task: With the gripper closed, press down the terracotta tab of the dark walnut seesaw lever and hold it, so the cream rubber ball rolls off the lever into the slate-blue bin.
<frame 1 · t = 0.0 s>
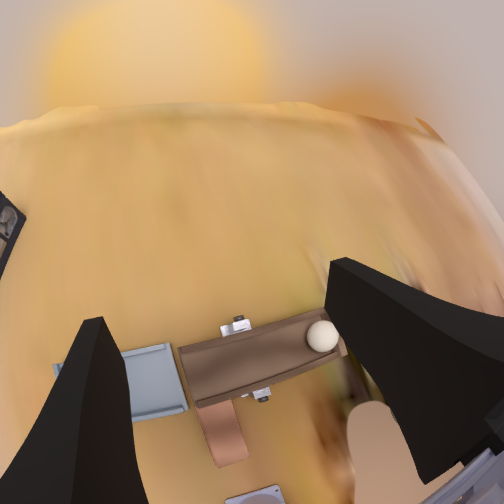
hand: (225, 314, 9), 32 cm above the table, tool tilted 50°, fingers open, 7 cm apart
bin: (123, 386, 35), on the table
ball: (322, 336, 37), point 6 cm above the table, tilted 9°, touching lever
lever stand: (244, 358, 40), on the table
lever: (278, 385, 34), point 6 cm above the table, hinge at 12.0°, touching ball
vhs cassette tape: (1, 266, 36), on the table
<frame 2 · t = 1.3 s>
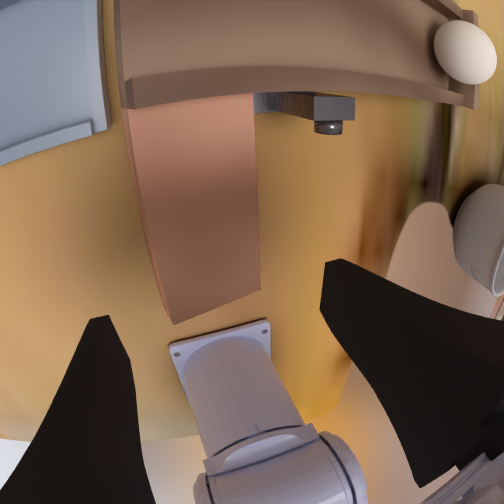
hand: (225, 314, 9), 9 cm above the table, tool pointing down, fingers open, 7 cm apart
teacup: (472, 216, 28), on the table
ball: (465, 52, 11), point 6 cm above the table, tilted 9°, touching lever
lever stand: (276, 26, 13), on the table
lever: (376, 103, 11), point 6 cm above the table, hinge at 12.0°, touching ball
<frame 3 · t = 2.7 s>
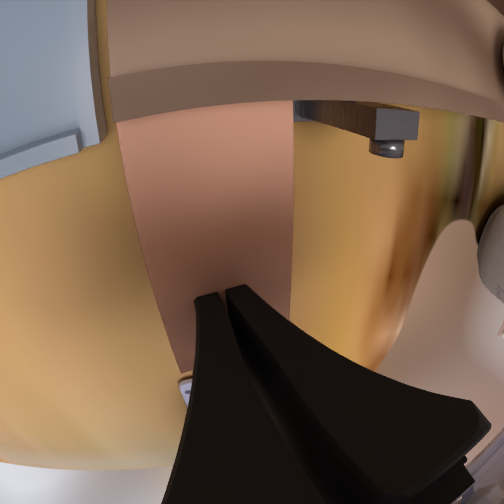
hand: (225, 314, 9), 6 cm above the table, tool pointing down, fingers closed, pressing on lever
teacup: (495, 231, 26), on the table
lever stand: (311, 18, 10), on the table
lever: (444, 121, 8), point 6 cm above the table, hinge at 3.6°, touching ball, gripper
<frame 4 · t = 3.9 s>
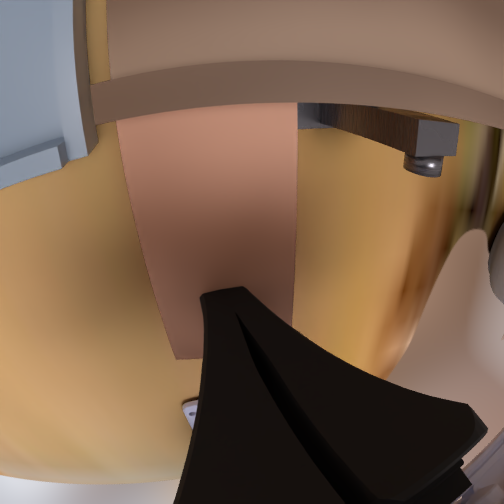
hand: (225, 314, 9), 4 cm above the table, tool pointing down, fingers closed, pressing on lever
lever stand: (330, 11, 9), on the table
lever: (493, 141, 6), point 6 cm above the table, hinge at -14.0°, touching gripper
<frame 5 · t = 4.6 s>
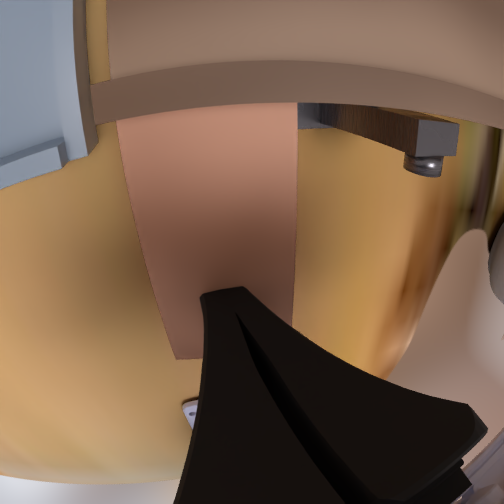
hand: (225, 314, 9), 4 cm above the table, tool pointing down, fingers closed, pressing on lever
lever stand: (330, 11, 9), on the table
lever: (493, 141, 6), point 6 cm above the table, hinge at -14.0°, touching gripper
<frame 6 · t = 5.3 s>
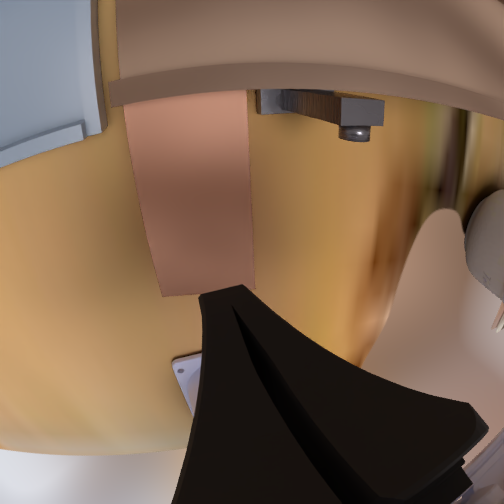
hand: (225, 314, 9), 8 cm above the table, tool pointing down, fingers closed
teacup: (483, 222, 27), on the table
lever stand: (291, 19, 12), on the table
lever: (414, 111, 9), point 6 cm above the table, hinge at -13.5°
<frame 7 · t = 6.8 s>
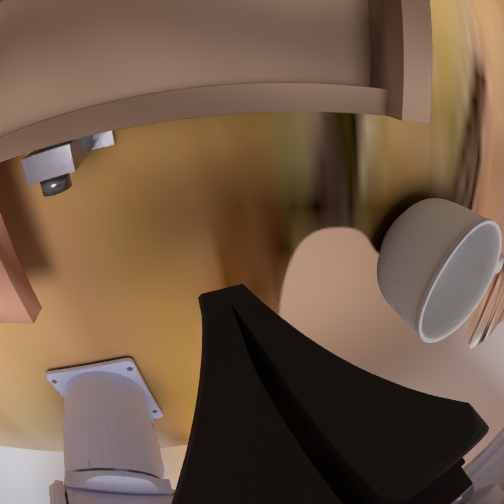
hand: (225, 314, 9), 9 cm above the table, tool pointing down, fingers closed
teacup: (414, 237, 26), on the table
lever stand: (66, 60, 11), on the table
lever: (84, 149, 8), point 6 cm above the table, hinge at -13.5°
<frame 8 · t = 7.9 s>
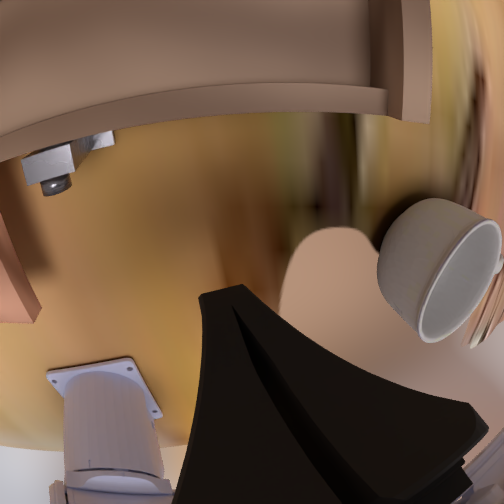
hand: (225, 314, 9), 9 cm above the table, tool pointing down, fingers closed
teacup: (414, 237, 26), on the table
lever stand: (66, 60, 11), on the table
lever: (84, 149, 8), point 6 cm above the table, hinge at -13.5°
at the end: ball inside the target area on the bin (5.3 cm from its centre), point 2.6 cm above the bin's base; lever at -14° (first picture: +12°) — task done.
